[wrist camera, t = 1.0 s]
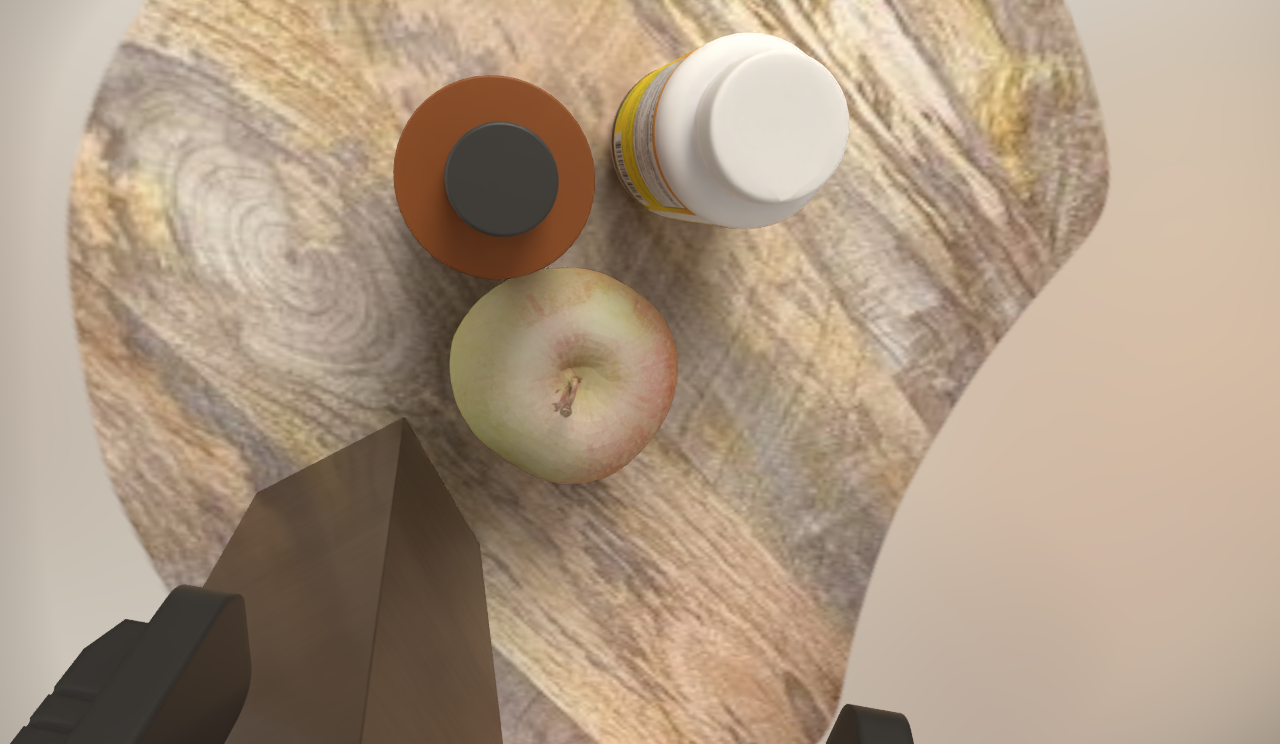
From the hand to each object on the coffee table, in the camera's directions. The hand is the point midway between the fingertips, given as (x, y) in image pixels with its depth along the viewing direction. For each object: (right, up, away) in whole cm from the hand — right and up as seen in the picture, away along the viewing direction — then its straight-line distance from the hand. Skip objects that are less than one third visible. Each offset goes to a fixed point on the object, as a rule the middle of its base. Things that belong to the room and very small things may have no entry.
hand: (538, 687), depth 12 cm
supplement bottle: (+3, +13, +21) cm, 25 cm away
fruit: (-2, +5, +22) cm, 22 cm away
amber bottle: (-4, +11, +20) cm, 23 cm away
